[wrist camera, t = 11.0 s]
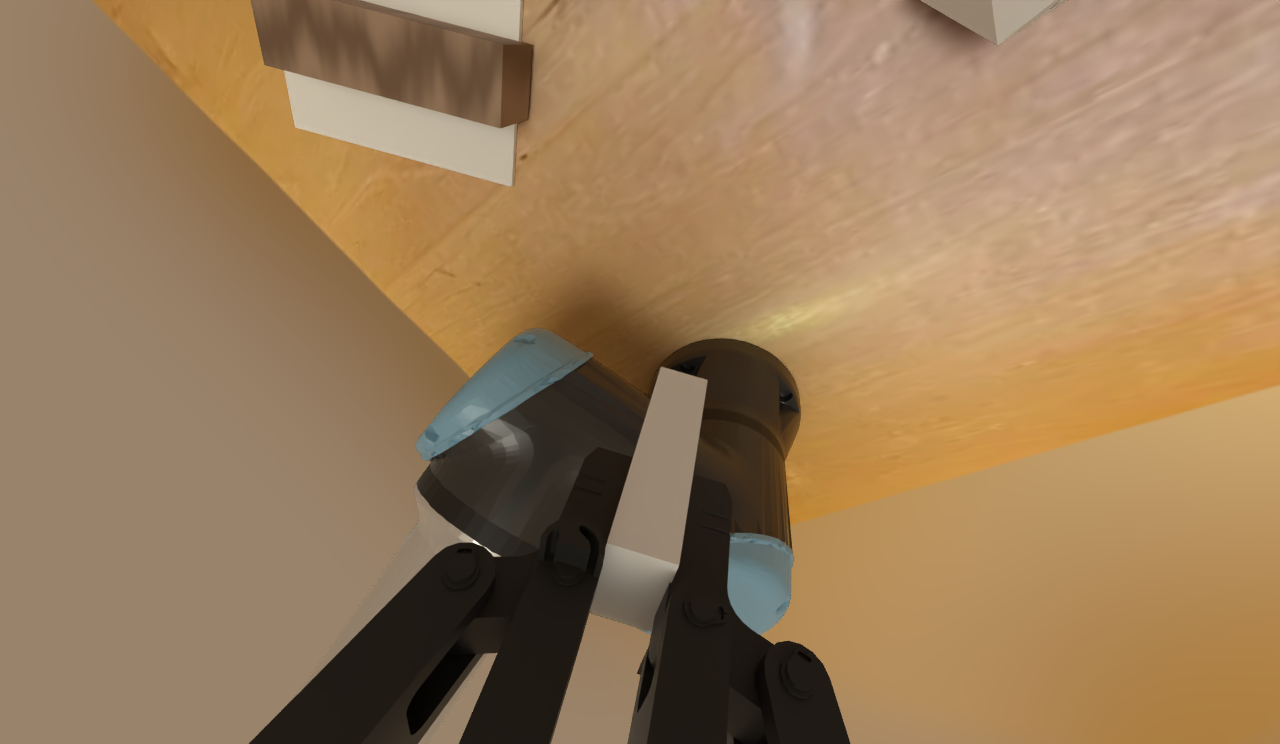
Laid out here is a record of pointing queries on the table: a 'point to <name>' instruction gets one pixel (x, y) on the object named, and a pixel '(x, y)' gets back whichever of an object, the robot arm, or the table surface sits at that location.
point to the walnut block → (399, 57)
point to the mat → (410, 129)
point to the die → (995, 15)
